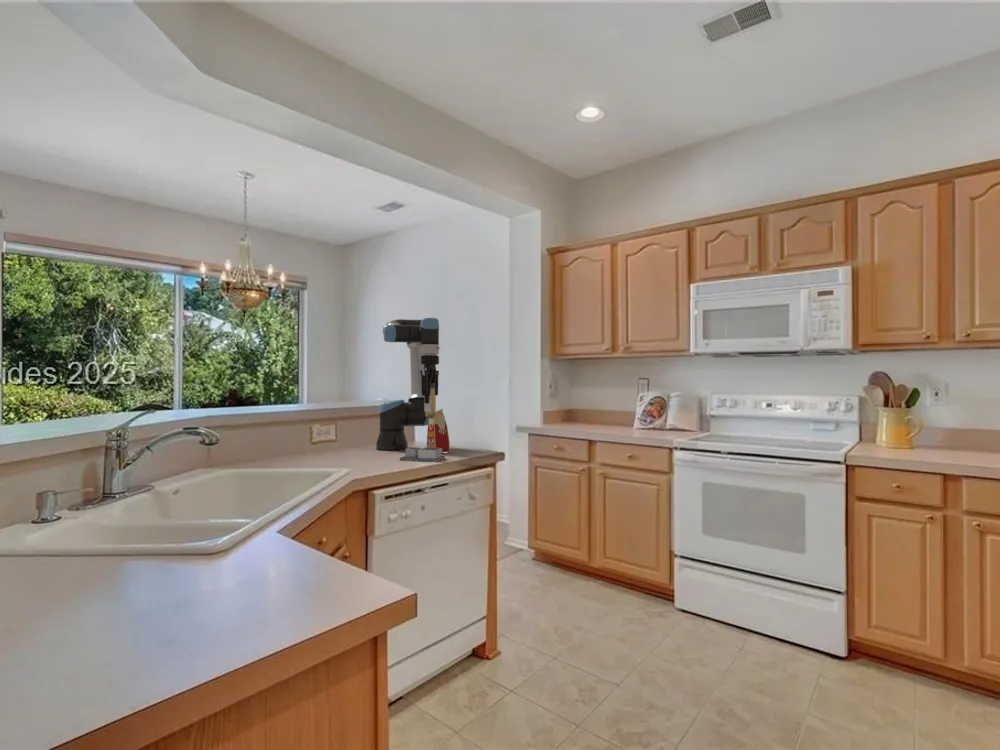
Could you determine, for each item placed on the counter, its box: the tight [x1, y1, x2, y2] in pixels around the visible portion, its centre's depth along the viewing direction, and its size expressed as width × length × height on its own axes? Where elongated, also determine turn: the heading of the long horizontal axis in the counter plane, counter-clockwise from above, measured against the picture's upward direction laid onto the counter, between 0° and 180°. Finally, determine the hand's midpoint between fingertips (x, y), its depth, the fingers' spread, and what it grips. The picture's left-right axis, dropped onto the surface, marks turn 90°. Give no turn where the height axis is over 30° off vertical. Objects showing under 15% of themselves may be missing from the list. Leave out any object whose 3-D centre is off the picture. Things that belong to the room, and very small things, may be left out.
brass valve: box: [425, 383, 435, 417], centre depth 215 cm, size 4×4×14 cm
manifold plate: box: [399, 446, 446, 462], centre depth 216 cm, size 10×16×4 cm, turn 73°
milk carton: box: [426, 408, 451, 454], centre depth 236 cm, size 9×9×20 cm
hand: (430, 411), depth 215 cm, fingers closed on brass valve, 4 cm apart
